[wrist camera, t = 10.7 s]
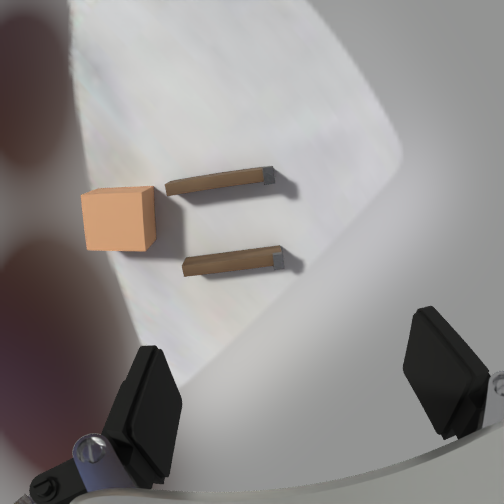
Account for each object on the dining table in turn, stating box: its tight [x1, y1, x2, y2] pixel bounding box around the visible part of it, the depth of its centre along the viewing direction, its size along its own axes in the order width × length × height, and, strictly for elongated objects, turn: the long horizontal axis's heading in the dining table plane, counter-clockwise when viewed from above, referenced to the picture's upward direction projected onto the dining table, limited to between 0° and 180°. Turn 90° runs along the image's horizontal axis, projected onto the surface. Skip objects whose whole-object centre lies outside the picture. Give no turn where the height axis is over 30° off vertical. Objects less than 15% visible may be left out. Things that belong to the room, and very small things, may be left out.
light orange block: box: [81, 186, 156, 251], centre depth 30 cm, size 6×7×4 cm
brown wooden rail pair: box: [165, 166, 284, 277], centre depth 30 cm, size 10×10×3 cm
